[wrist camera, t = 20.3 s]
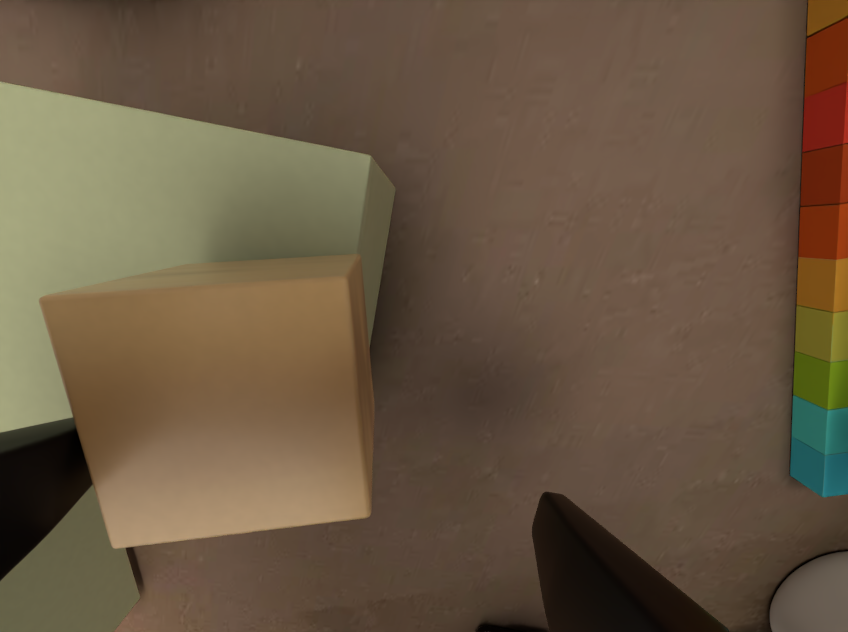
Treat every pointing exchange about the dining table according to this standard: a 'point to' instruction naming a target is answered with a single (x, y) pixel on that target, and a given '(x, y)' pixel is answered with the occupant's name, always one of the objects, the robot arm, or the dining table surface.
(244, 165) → the cabinet
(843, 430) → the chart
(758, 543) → the dining table surface
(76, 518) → the cabinet door
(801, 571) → the mug
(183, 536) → the block
